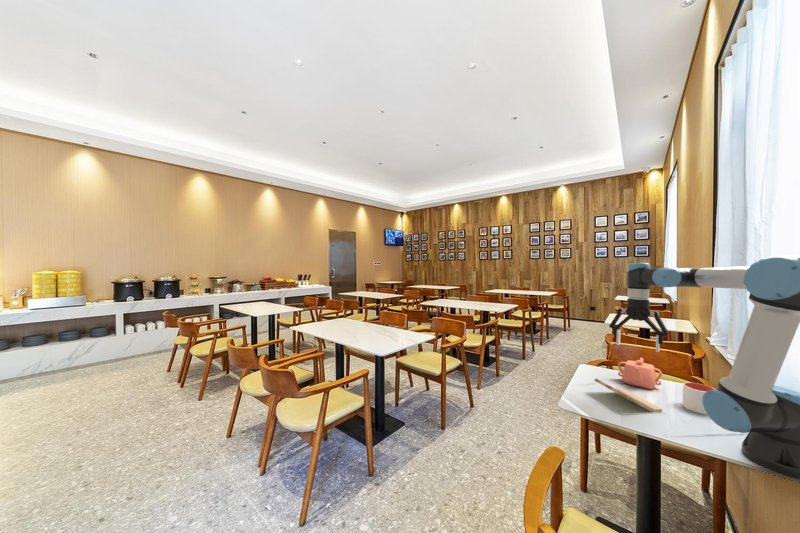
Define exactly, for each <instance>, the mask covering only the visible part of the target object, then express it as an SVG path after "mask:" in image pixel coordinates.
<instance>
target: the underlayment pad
mask: <svg viewBox="0 0 800 533" xmlns="http://www.w3.org/2000/svg"><path fill="white" fill-rule="evenodd" d="M618 390H619V391H621V392H623V393H625V394H627V395H628V396H630V397H632V398H634V399H636V400H637V401H639V402H641V403H643V404H645V405H647V406H648V407H650V408H652V409H653V410H652V412H651V411H649V410H647V409H645V408H643V407H641V406H639V405H637V404H636V403H634V402H632V401H630V400H628V399H626V398H624V397H623V396H621V395H619V394H617V393H615V392H614V391H585V392H586V393H585V394H588V395H589V396H591V397H593V398H594V399H595V400H597V401H599V402H600V403H601V404H603V405H605V406H606V407H608V408H609V409H612V411H614V412H616V413H617V414H618V415H623V416H624V415H626V416H627V415H658V414H659V415H660V414H666V412H663V409H662V408H660V407H658V406H657V405H655V404H653V403H651V402H650V401H648V400H647V399H644V398H642V397H640V396H638V395H636V394H635V393H632V392H630V391H628V390H627V389H618Z"/></svg>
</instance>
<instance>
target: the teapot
mask: <svg viewBox="0 0 800 533" xmlns="http://www.w3.org/2000/svg"><path fill="white" fill-rule="evenodd" d="M623 364H624V367H623V368H622V366H621V365H623ZM617 366H618V368H619V371H618V373H617V374H618V376H619V377H621V379H622V382H623V383H625V384H627V385H630V386H635V387H638V388H643V389H648V390H654V388H656V387H655V386H661V385H662V382H661V381H660V379H661V378H662V376H663V372H662V371H661V369H659V368H657V367H655V366H654V365H653V364H650V363H646V362H644V358H643V357H640V358H639V360H638V359H636V360H630V359H628V360H627V361H620V362H618V364H617ZM656 371H657V372H658V374H659V375H658V376H657V374H656Z"/></svg>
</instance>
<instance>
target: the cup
mask: <svg viewBox="0 0 800 533" xmlns="http://www.w3.org/2000/svg"><path fill="white" fill-rule="evenodd" d="M713 389H715V390H716V389H717V388H714V387H711V386H709V385H705V384H701V383H697V382H696V383H695V382H691V381H690V382H683V383H682V399H681V400H682V401H681V402H682V407H683V408H686V409H687V410H689V411H692V412H695V413H698V414H702V415H707V416H708V414H707V412H706V411H705V409H704V406H703V402H702V398H703V395H704V393H705V392H707V391H709V390H713Z"/></svg>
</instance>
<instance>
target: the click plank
mask: <svg viewBox="0 0 800 533" xmlns="http://www.w3.org/2000/svg"><path fill="white" fill-rule="evenodd" d="M594 382H597V383H598V384H600V385H602V386H603V387H605V388H607V390H610V391H611V392H613V391H614V392H615V393H617V394H619V395H621V396H623V397H624V398H626V399H628V400H630V401H632V402H634V403H636V404H637V405H639V406H641V407H643V408H645V409H647V410H649V411H651V412H652V410H653V409H652V408H650V407H648V406H647V405H645V404H643V403H641V402H639V401H637V400H636V399H634V398H632V397H630V396H628V395H627V394H625V393H623V392H621V391H619V390H620V389H617V388H615V387H613V386H611V385H610V384H607V383H605V382H603V381H601V379H597V378H595V379H594Z"/></svg>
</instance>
